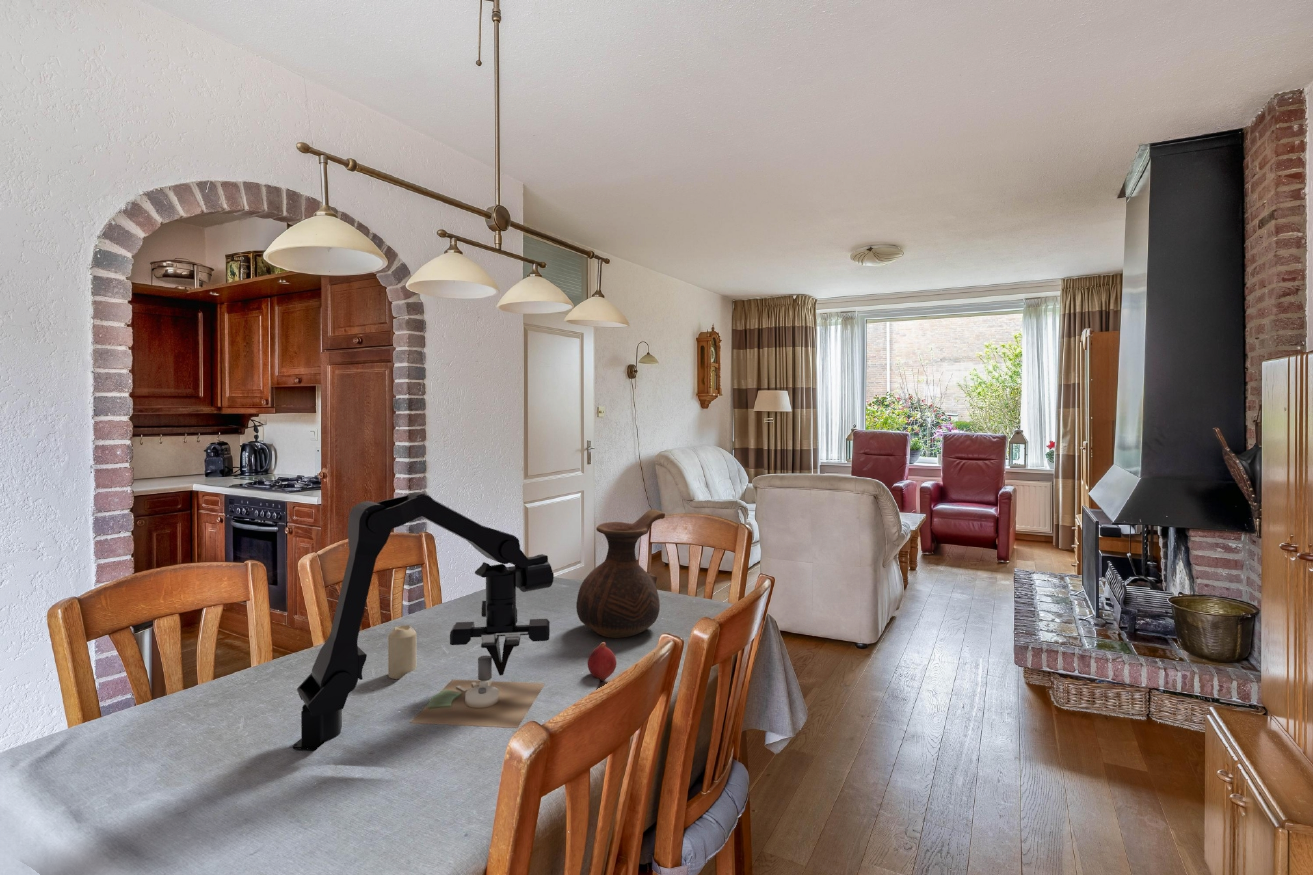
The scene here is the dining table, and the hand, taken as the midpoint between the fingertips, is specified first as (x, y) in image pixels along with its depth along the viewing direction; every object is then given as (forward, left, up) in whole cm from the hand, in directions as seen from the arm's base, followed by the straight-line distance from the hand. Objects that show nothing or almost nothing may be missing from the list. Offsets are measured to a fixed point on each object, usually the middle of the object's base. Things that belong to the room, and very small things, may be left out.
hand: (501, 674), depth 131 cm
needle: (-5, +2, -2) cm, 5 cm away
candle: (+7, +23, -4) cm, 25 cm away
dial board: (-7, +1, -4) cm, 8 cm away
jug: (+41, -18, -4) cm, 44 cm away
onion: (+8, -19, -4) cm, 21 cm away
